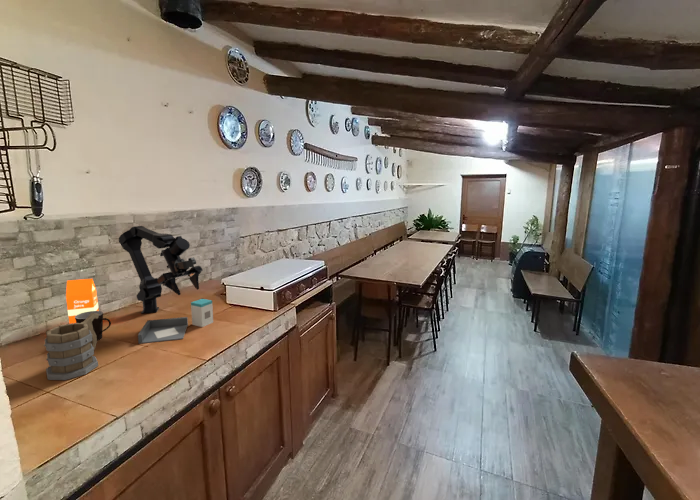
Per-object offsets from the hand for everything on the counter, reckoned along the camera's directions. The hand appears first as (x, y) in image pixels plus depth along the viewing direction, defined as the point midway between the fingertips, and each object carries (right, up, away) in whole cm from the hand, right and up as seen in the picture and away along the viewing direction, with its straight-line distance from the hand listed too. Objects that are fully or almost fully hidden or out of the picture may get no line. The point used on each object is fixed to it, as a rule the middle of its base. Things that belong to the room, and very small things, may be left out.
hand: (189, 292), depth 150 cm
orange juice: (-43, -14, -3) cm, 45 cm away
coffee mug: (-29, -17, -17) cm, 37 cm away
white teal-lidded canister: (+5, -14, +1) cm, 15 cm away
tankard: (-19, -20, -35) cm, 45 cm away
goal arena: (-4, -16, -10) cm, 19 cm away
